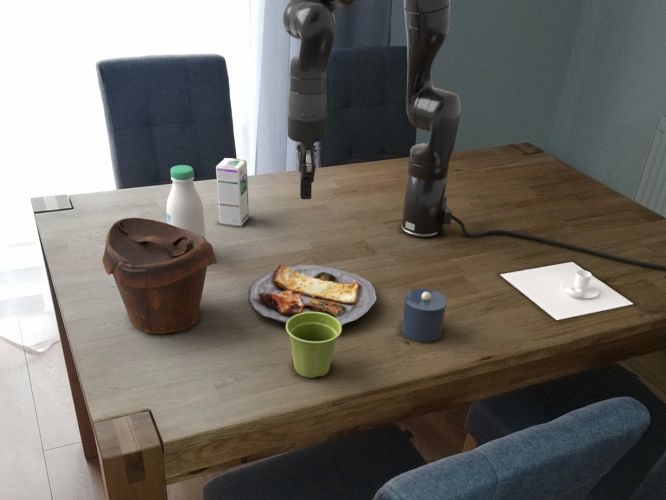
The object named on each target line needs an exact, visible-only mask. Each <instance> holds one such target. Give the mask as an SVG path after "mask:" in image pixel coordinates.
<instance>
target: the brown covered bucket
mask: <svg viewBox="0 0 666 500" xmlns="http://www.w3.org/2000/svg"><path fill="white" fill-rule="evenodd" d="M104 242H105V243H104V244H105V245H104V251H103V254H102V255H103V256H102V260H101V262H102V265H103V267H104V270H105V272H106V274H107V275H108V276H110V275H112V276H113V280H114V281H115V284H116V287H117V290H118V292H119V295H120V298H121V300H122V302H123V305H124V308H125V311H126V313H127V316H128V319H129V322H130V323H131V324H132V325H133V326H134V327H135V328H136V329H138V330H140V331H142V332H143V333H146V334H151V335H152V334H155V335H157V334H158V335H163V334H165V335H166V334H172V333H177V332H182V331H184V330H186V329H189V328H190V327H193V326H194V325H195V324H196V323H197V320H198V318H199V315H200V307H201V301H202V296H203V292H204V287H205V282H206V281H205V280H206V276H207V270H208V267H209V266H211V265H216V264H218V260H217V257H216V254H215V250H214V247H213V245H212V243H211V242H209V241H208V240H207V239H206V237H205V238H204V237H203V236H201V235H199V234H196V233H193V232H190V231H188V230H184V229H181V228H178V227H176V226H173V225H170V224H167V222H163V221H160V220H154V219H150V218H142V217H126V218H122V219H119V220H117V221H115V222H114V223H113V224H112V225H111V227H110V228H109V230H108V232H107V234H106V236H105V241H104Z"/></svg>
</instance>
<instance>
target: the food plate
mask: <svg viewBox="0 0 666 500" xmlns="http://www.w3.org/2000/svg"><path fill="white" fill-rule="evenodd" d="M247 293H248V299H247V302H248V304H249V305H250V307H252V308H253V310H254V311H257V314H258V315H260V316H263V317H266V318H269V319H272V320H276V321H279V322H281V323H285V324H286V323H287V321H288V320H289V319H290V318H291V317H293V316H294V315H297V314H300V313H304V312H321V313H325V314H328V315H330V316H332V317H334V318H336V319H337V320H338V321H339V322H340V324H341V326H343V325H345V324H348V323H350V322H354V321H356V320H358V319H360V318H361V317H362V316H364V315H365V314H366V313H368V311H369V310H371V308H372V307H373V305H374V304H375V302H376V301H377V294H376V290H375V288H374V286H373V285H372V283H371V282H370V281H368V280H367V279H366V278H364V277H361V276H360V275H359V274H357V273H355V272H353V271H350V270H348V269H344V268H338V267H333V266H326V265H325V266H324V265H320V264H319V265H318V264H298V265H293V266H287V265H285V264H279V265H278V266H277V268H276V269H275V270H273V271H267V272H266V273H264V274H263V275H261V276H260V277H258V278H257V279H255V280H254V281H253V282H252V283H251V284H250V286H249V287H248V291H247Z"/></svg>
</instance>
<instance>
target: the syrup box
mask: <svg viewBox="0 0 666 500" xmlns="http://www.w3.org/2000/svg"><path fill="white" fill-rule="evenodd" d="M215 173H216V174H215V175H216V176H215V177H216V187H217V188H216V191H217V205H218V222H219V224H222V225H227V226H235V227H243V225H244V224H245V223H246V221H247V220H248V219H249V216H250V210H249V208H250V207H249V186H248V185H249V183H248V162H247V160H246V159H241V158H232V157H231V158H230V157H228V158H227V157H224V158H223V160H221V161H220V162H218V164H217V165H216V166H215Z"/></svg>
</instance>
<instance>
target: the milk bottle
mask: <svg viewBox="0 0 666 500" xmlns="http://www.w3.org/2000/svg"><path fill="white" fill-rule="evenodd" d="M170 180H171V181H172V185H171V189H170V192H169V194H168V196H167V201H166V223H167V224H170V225H173V226H176V227H178V228H181V229H184V230H188V231H190V232H193V233H196V234H199V235H201V236H203V237H204V238H205V239H206V230H205V228H206V227H205V214H204V206H203V201H202V199H201V196H200V194H199V193H198V191H197V189H196V187H195V183H194V180H195V171H194V168H193V167H192V166H190V165H186V164H179V165H174V166H172V167H171V168H170Z"/></svg>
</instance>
